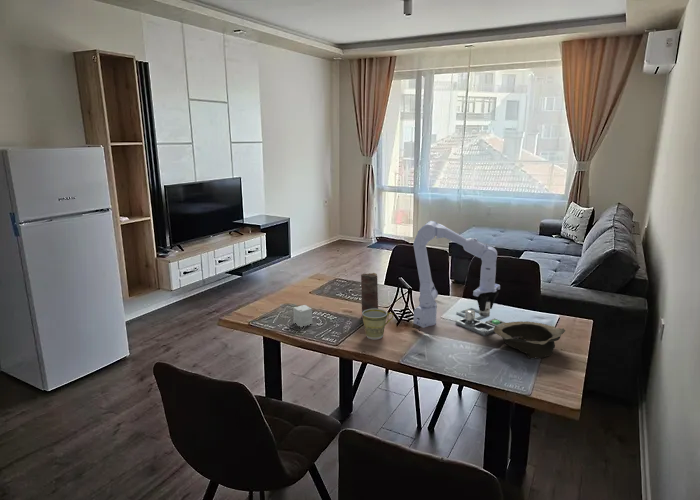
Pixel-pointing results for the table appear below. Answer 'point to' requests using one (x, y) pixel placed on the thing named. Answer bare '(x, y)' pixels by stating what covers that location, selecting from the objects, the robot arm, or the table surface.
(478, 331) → the pallet
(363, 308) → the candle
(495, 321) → the button
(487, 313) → the billet
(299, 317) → the skincare box
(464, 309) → the grey square frame
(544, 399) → the table surface
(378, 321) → the ceramic cup
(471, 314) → the billet
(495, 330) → the stone bowl
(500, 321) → the button housing
